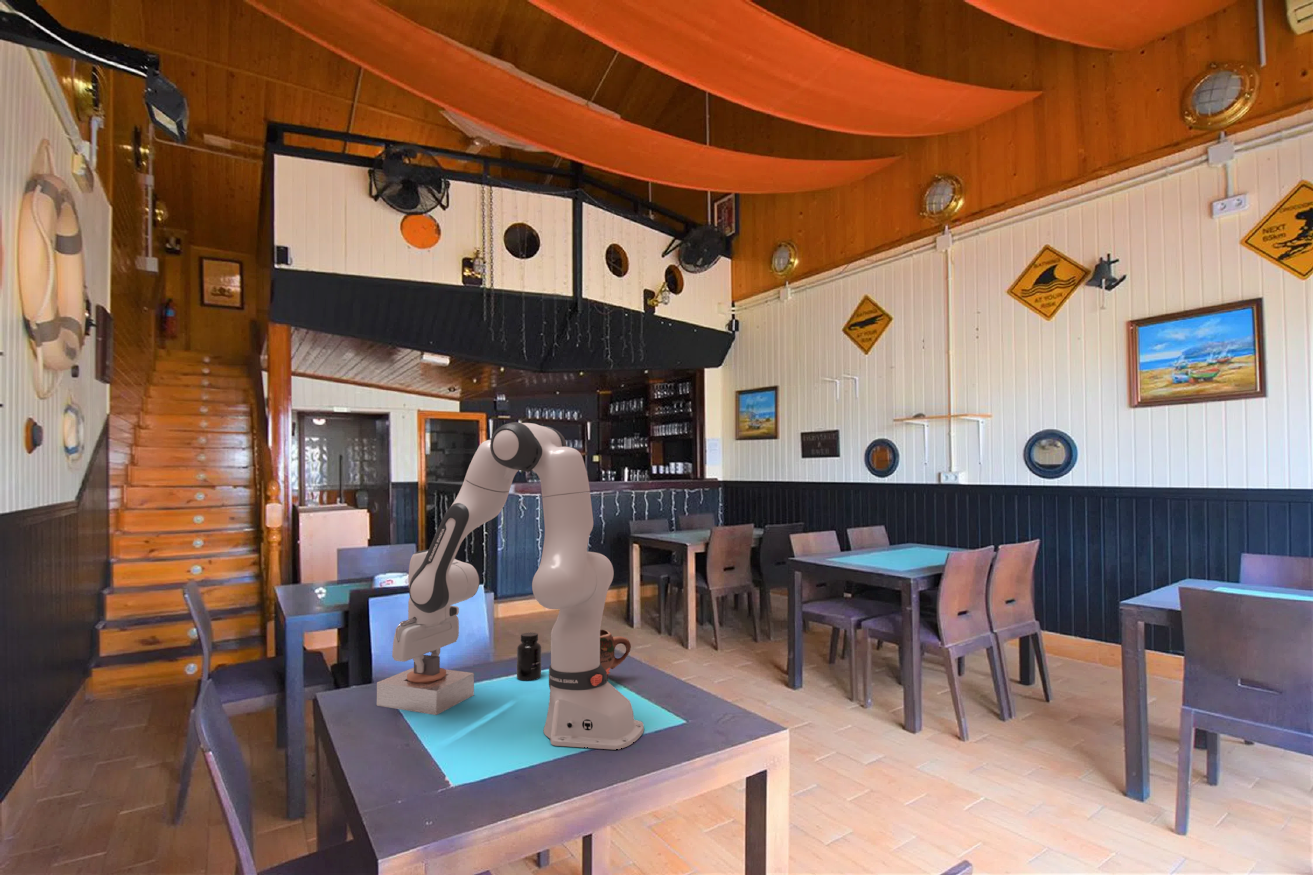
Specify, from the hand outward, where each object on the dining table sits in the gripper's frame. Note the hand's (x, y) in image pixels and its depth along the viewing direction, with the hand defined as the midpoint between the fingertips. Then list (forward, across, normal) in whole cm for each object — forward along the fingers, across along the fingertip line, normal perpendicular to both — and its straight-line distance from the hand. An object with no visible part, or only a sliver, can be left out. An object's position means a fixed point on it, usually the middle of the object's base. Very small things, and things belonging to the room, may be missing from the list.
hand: (426, 669), depth 160 cm
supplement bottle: (+9, +28, -12) cm, 32 cm away
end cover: (+7, 0, 0) cm, 7 cm away
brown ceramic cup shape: (+9, +30, -32) cm, 45 cm away
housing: (+9, 0, 0) cm, 9 cm away
